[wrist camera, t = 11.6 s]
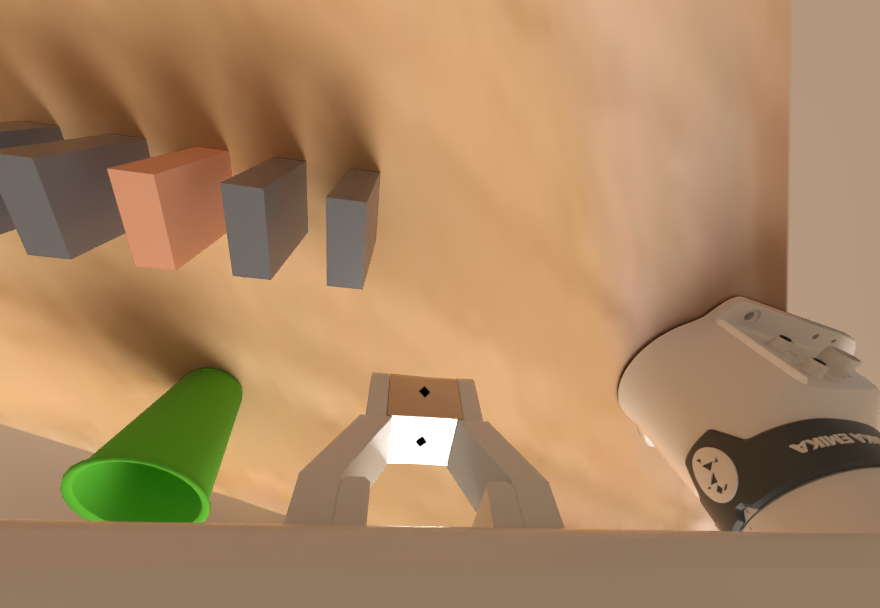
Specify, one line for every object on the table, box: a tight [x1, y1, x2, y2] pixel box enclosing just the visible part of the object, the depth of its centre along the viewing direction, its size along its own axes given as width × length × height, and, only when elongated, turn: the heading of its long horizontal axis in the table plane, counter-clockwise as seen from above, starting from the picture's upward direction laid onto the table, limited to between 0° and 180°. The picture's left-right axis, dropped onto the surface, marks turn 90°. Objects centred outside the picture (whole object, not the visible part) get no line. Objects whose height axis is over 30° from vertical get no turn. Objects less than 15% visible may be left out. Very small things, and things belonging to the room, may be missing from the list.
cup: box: [60, 368, 242, 523], centre depth 29 cm, size 9×9×11 cm
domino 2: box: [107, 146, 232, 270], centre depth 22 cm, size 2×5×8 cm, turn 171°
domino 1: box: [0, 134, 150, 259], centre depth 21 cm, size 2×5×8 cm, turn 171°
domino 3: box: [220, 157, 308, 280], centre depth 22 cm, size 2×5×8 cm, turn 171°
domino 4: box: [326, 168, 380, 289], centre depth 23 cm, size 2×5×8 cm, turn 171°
